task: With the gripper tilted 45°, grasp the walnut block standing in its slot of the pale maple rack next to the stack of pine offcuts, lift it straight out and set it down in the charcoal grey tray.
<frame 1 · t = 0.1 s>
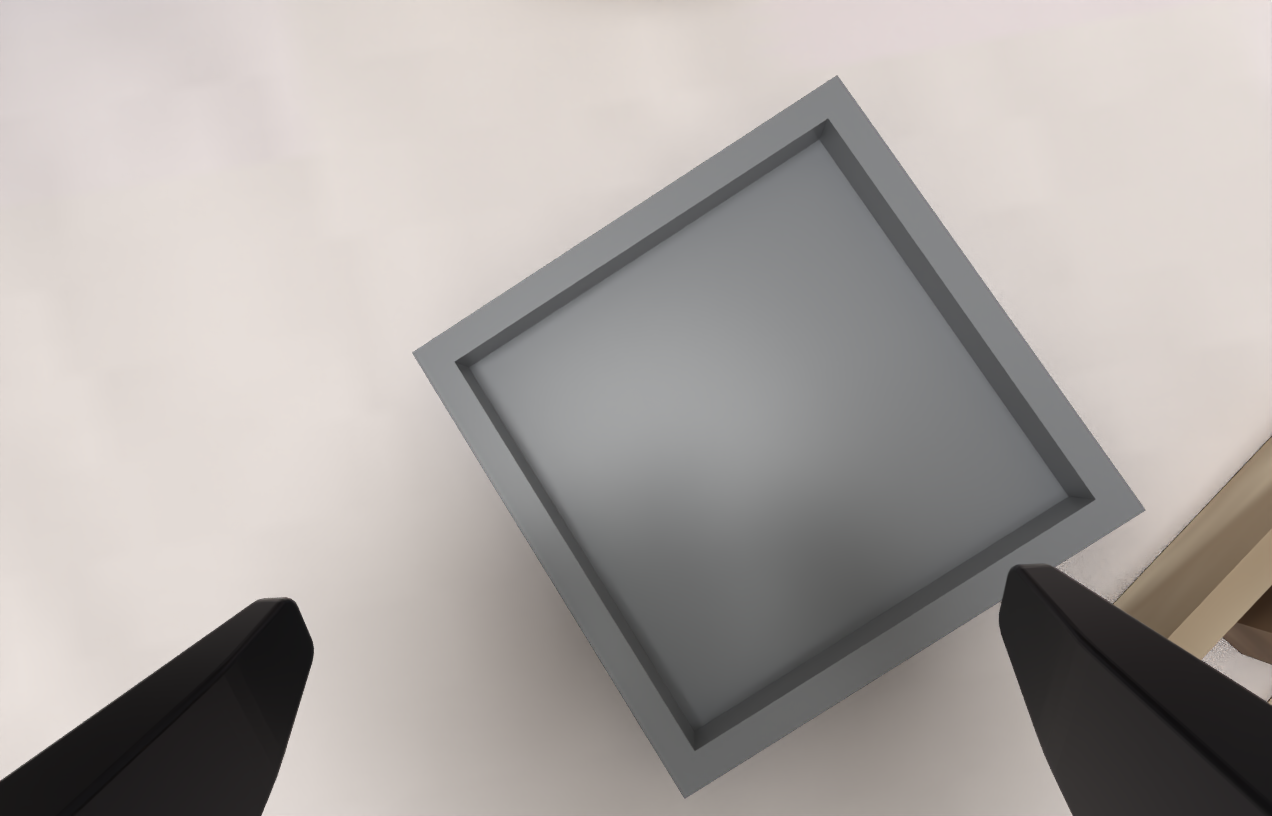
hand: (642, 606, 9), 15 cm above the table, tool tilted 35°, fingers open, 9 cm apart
walnut block: (1259, 584, 22), on the table
offcut rack: (1259, 584, 22), on the table
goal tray: (756, 430, 24), on the table
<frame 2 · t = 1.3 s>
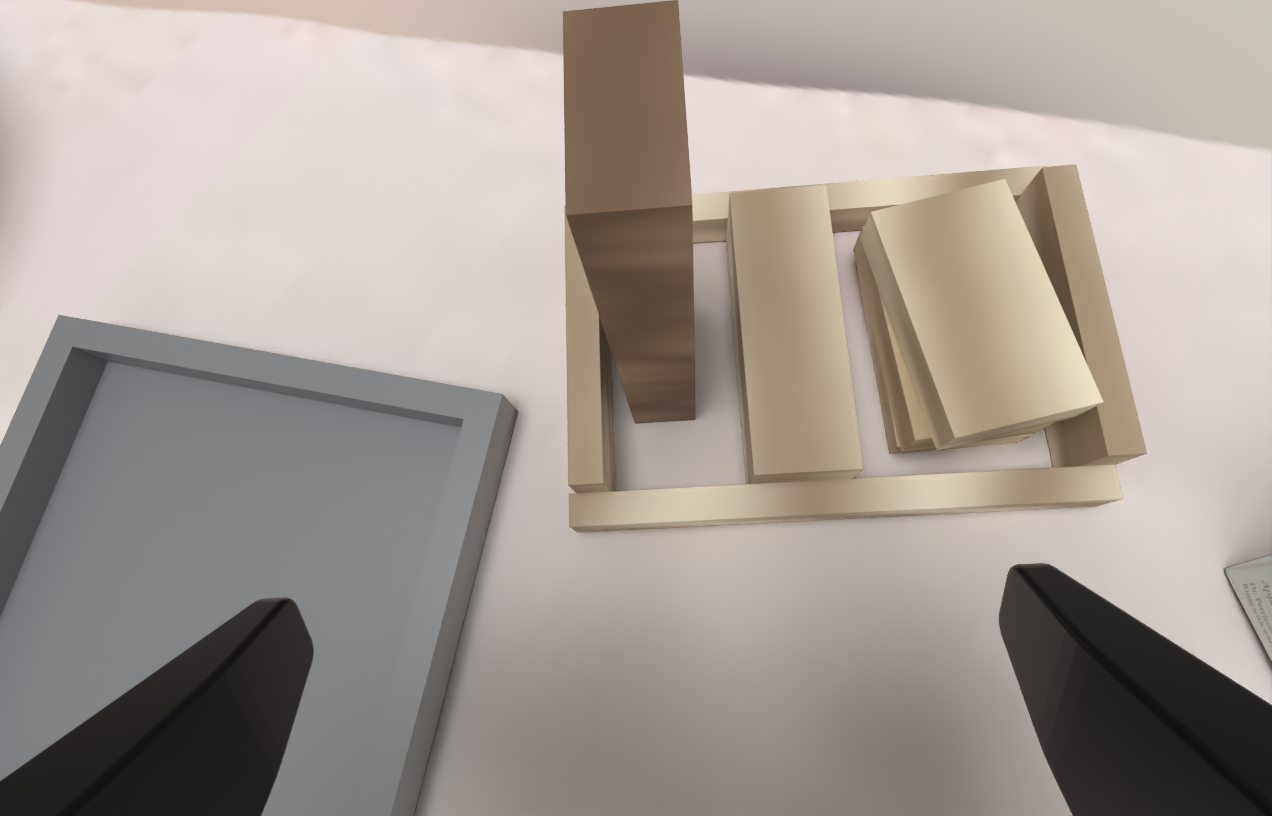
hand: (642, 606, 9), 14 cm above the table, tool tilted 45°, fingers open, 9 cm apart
walnut block: (662, 364, 24), on the table
offcut rack: (662, 364, 24), on the table
offcut 1: (927, 351, 24), on the table, touching offcut 2
offcut 3: (961, 323, 21), point 2 cm above the table, touching offcut 2
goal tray: (224, 601, 23), on the table
offcut 2: (939, 337, 23), point 1 cm above the table, touching offcut 1, offcut 3
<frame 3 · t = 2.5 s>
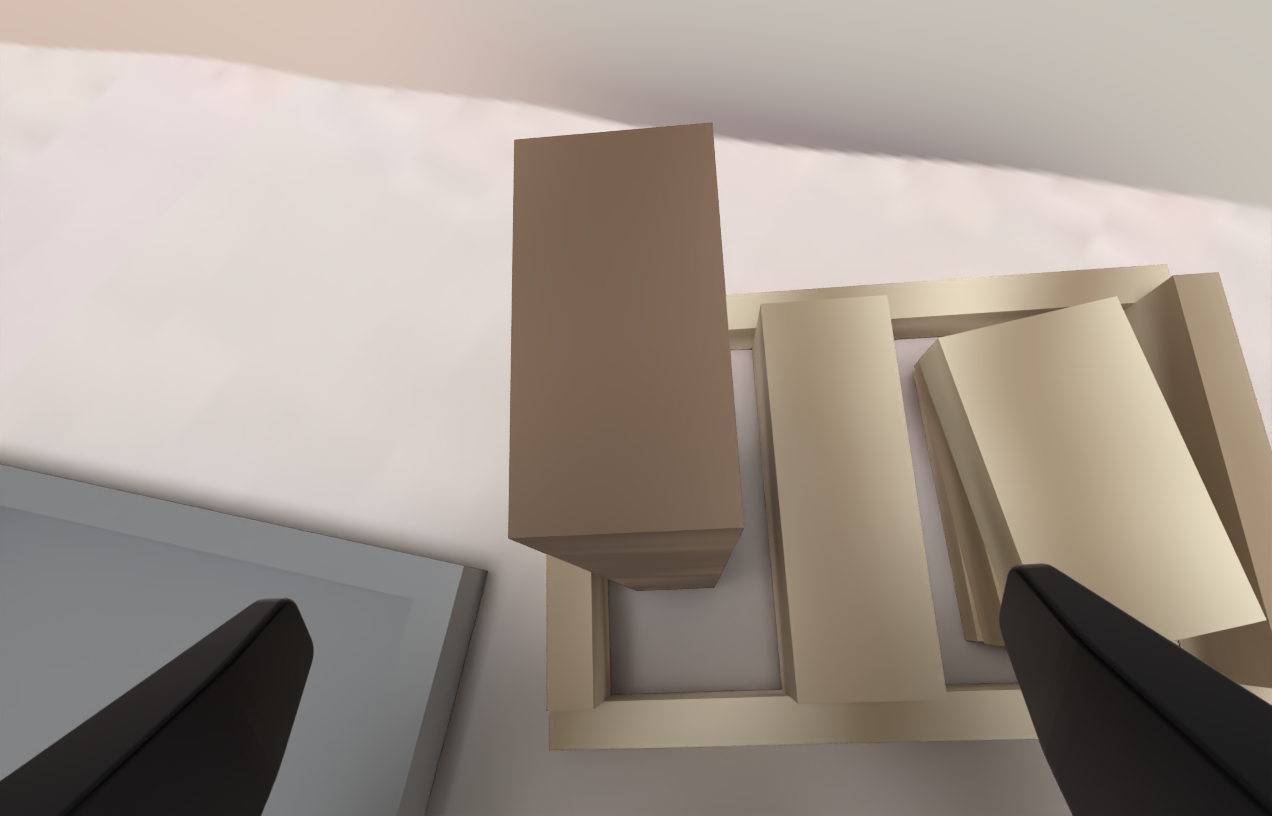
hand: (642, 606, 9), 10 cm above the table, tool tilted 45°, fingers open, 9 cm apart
walnut block: (671, 512, 19), on the table
offcut rack: (671, 512, 19), on the table
offcut 1: (1006, 496, 19), on the table, touching offcut 2
offcut 3: (1056, 481, 16), point 2 cm above the table, touching offcut 2
offcut 2: (1028, 486, 18), point 1 cm above the table, touching offcut 1, offcut 3
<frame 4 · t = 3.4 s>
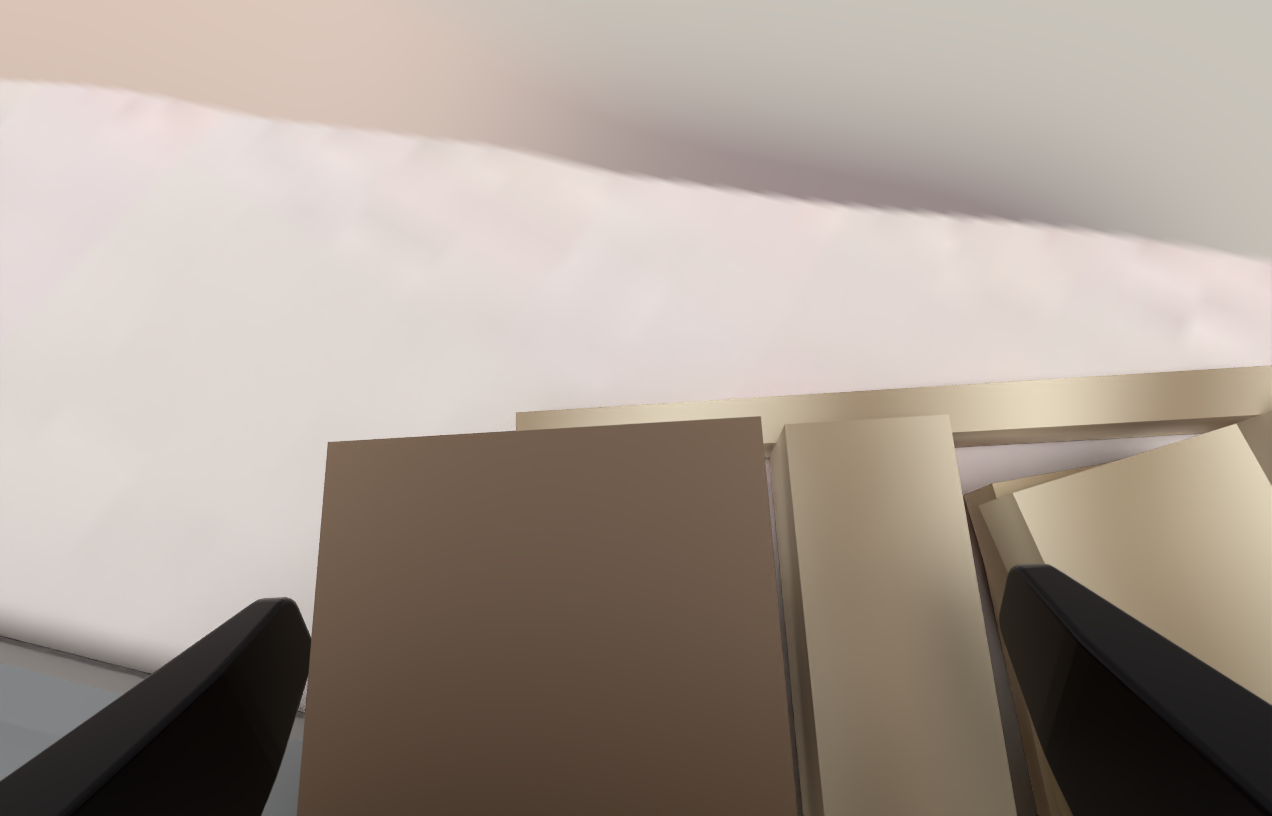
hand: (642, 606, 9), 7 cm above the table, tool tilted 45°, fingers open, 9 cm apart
walnut block: (670, 671, 15), on the table
offcut rack: (670, 671, 15), on the table
offcut 1: (1082, 651, 15), on the table, touching offcut 2
offcut 3: (1170, 661, 13), point 2 cm above the table, touching offcut 2
offcut 2: (1118, 651, 14), point 1 cm above the table, touching offcut 1, offcut 3
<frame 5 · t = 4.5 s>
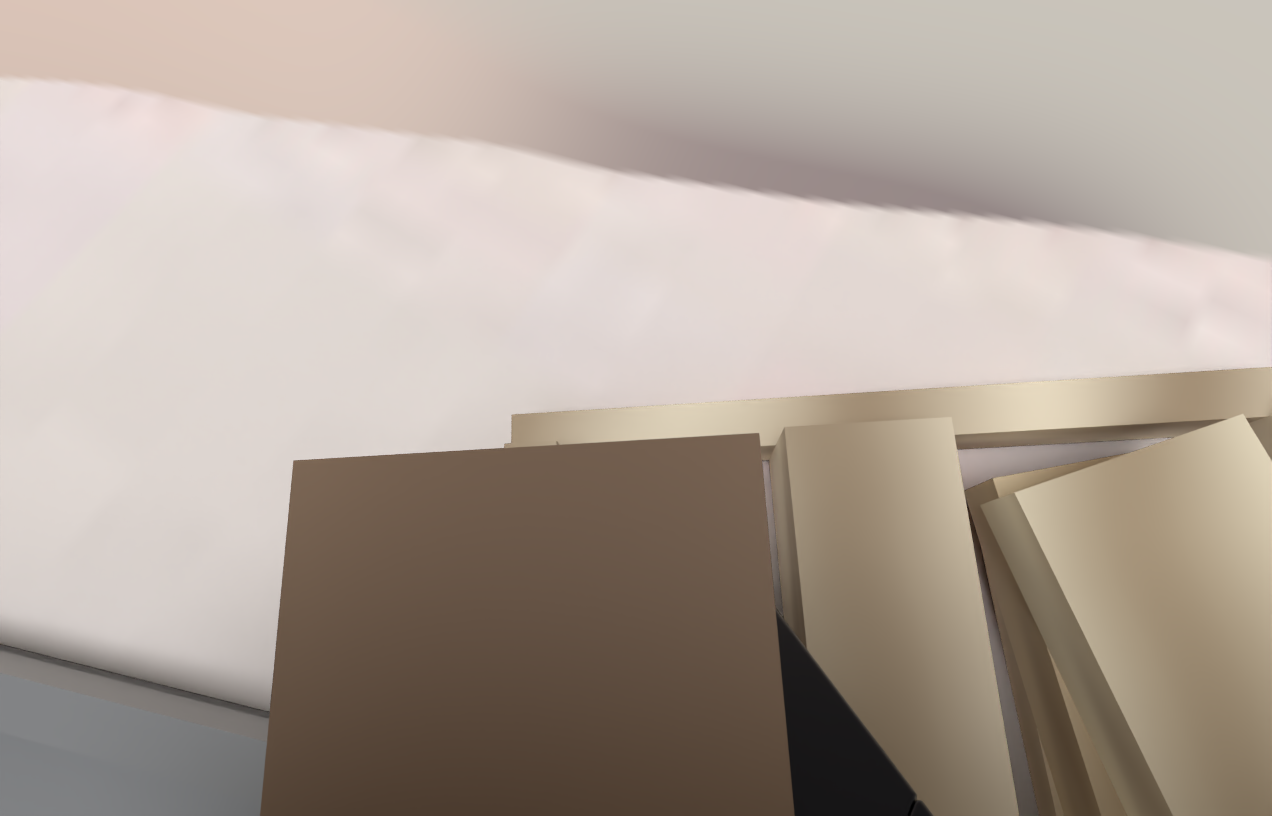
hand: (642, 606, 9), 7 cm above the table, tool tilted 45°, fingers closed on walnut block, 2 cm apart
walnut block: (668, 677, 15), on the table, touching gripper
offcut rack: (668, 677, 15), on the table
offcut 1: (1089, 656, 15), on the table, touching offcut 2
offcut 3: (1181, 660, 12), point 2 cm above the table, touching offcut 2
offcut 2: (1122, 649, 14), point 1 cm above the table, touching offcut 1, offcut 3
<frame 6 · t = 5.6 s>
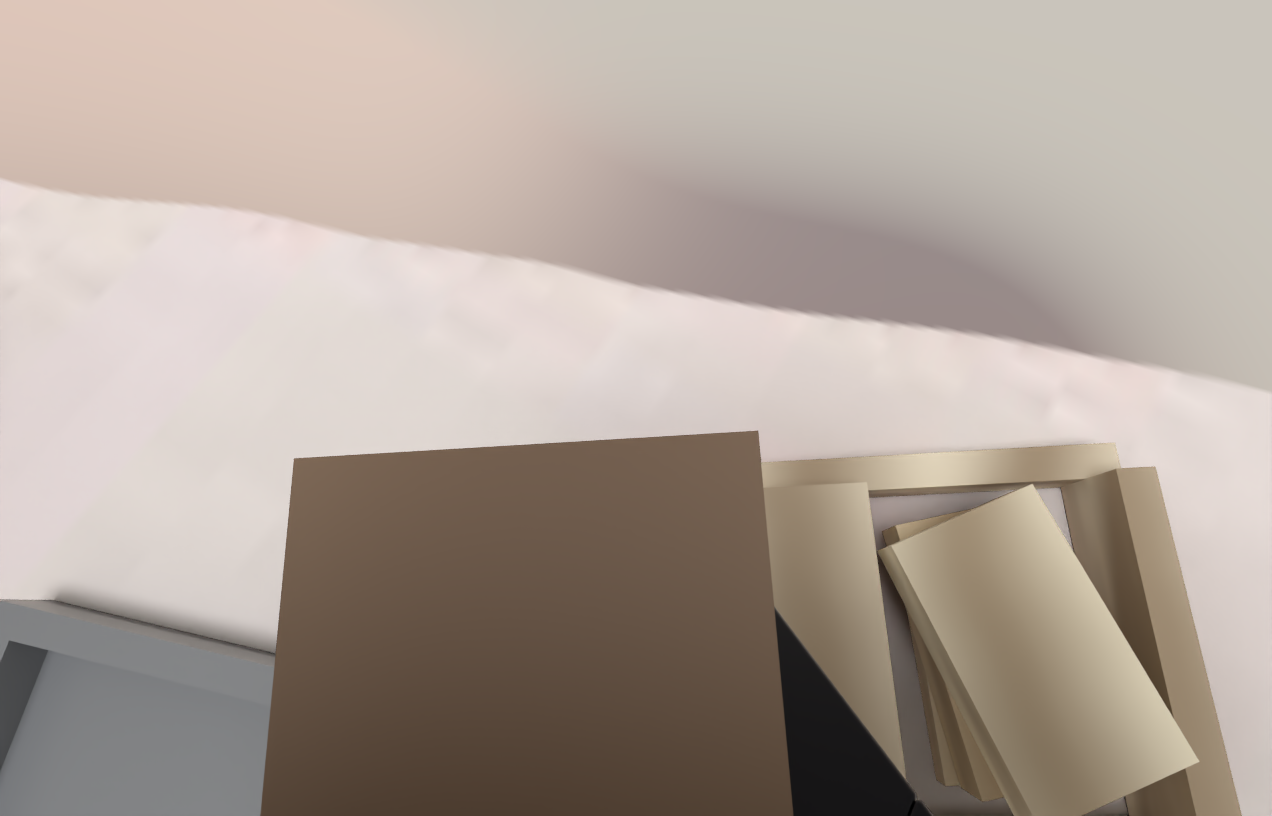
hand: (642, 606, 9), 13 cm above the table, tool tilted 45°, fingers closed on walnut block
walnut block: (668, 676, 15), point 7 cm above the table, touching gripper
offcut rack: (677, 657, 21), on the table
offcut 1: (973, 642, 22), on the table, touching offcut 2
offcut 3: (1010, 645, 19), point 2 cm above the table
offcut 2: (989, 638, 20), point 1 cm above the table, touching offcut 1
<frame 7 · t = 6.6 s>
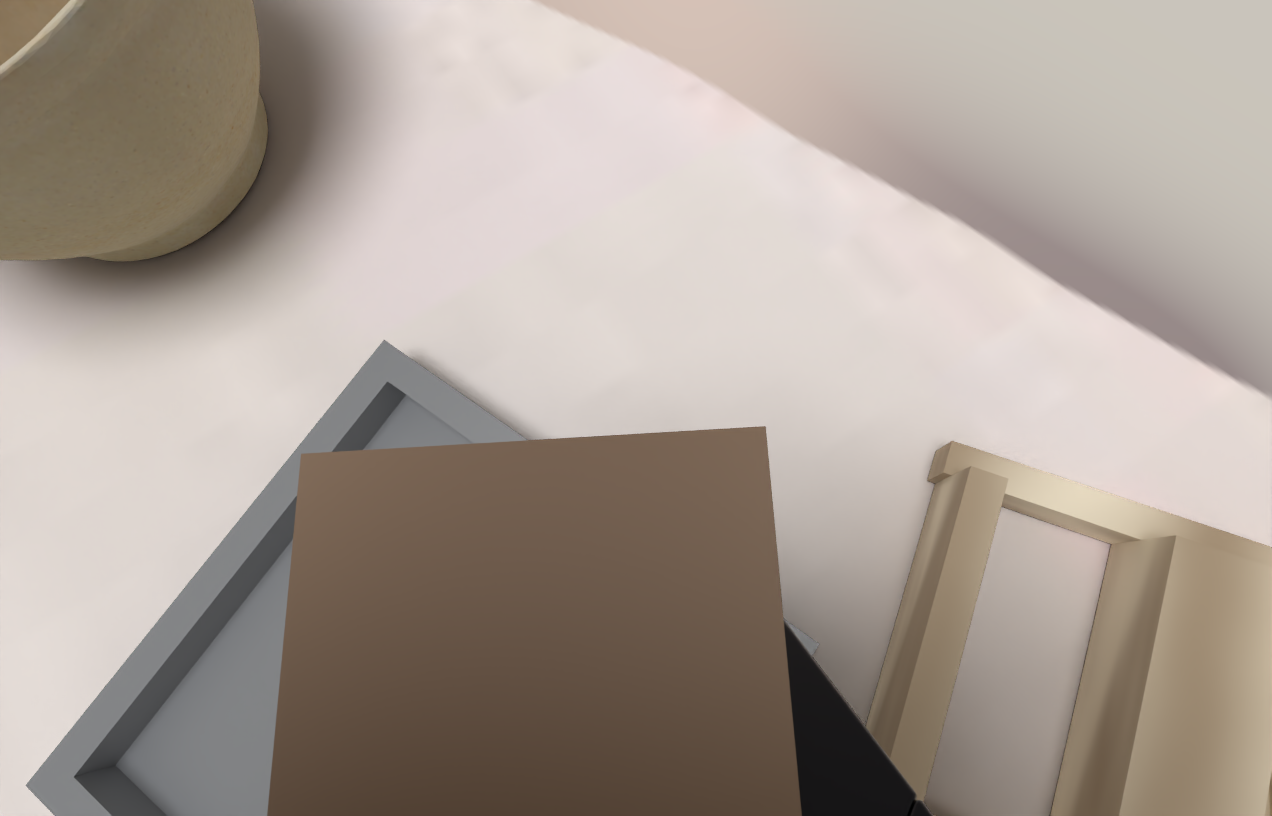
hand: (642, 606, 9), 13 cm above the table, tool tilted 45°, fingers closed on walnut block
planter bowl: (162, 157, 28), on the table
walnut block: (669, 675, 15), point 7 cm above the table, touching gripper
offcut rack: (988, 660, 21), on the table
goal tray: (440, 705, 22), on the table
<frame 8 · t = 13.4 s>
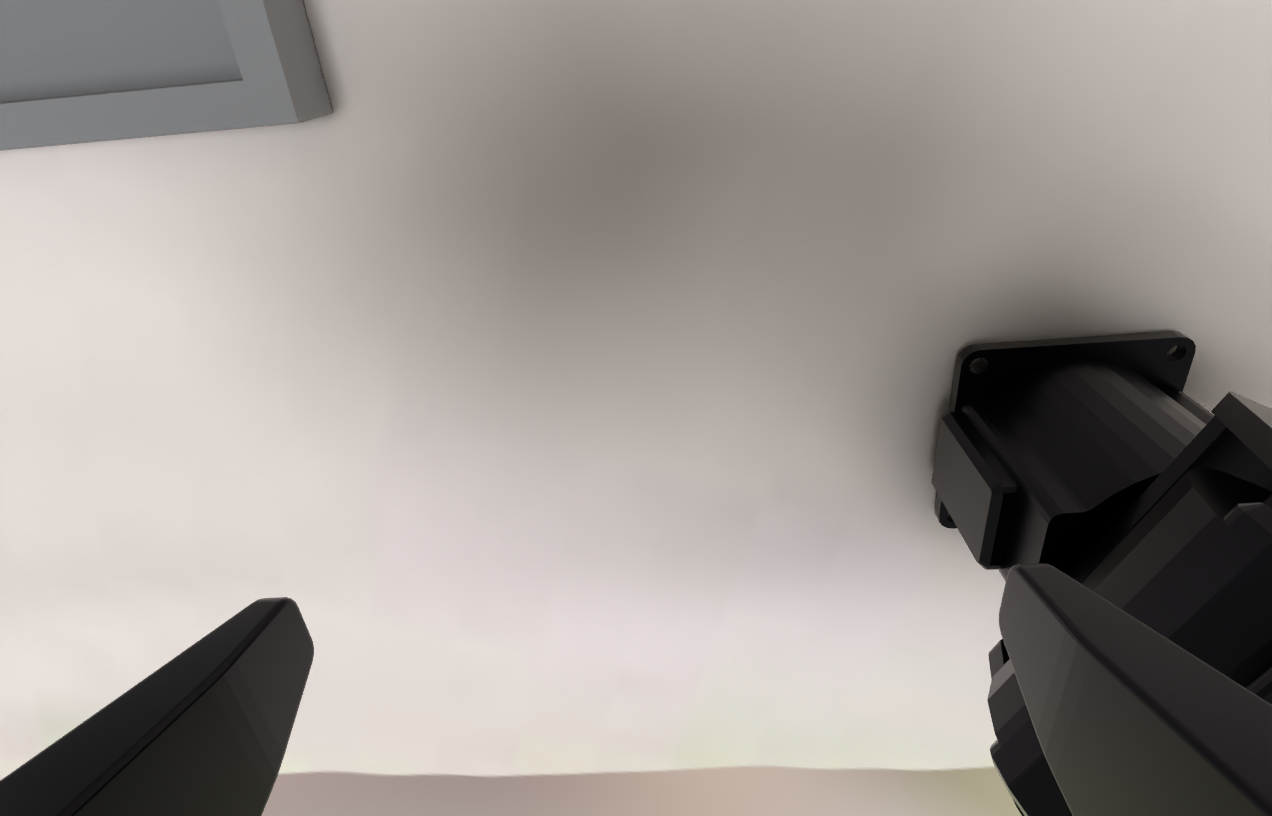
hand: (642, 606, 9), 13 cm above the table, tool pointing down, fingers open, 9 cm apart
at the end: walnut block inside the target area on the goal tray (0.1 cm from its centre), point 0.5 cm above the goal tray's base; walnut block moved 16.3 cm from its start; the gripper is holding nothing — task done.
